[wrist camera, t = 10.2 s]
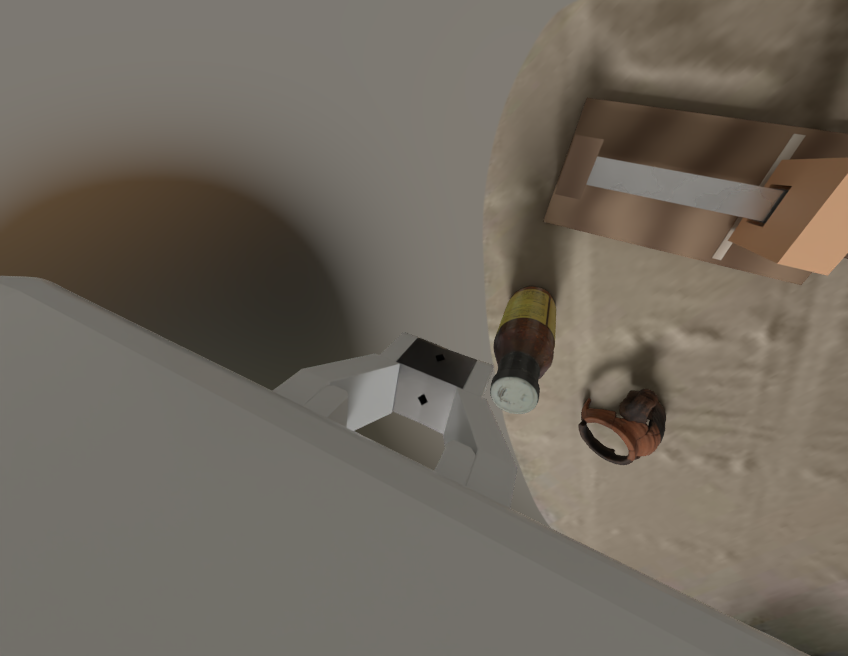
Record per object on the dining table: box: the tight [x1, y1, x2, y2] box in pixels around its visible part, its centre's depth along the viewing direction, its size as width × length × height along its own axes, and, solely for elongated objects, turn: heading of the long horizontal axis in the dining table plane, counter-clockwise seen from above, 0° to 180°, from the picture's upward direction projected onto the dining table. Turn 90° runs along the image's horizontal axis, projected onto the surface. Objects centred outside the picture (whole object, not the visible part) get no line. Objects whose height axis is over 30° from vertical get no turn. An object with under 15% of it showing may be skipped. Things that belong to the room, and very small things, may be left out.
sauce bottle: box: [490, 286, 556, 414], centre depth 35 cm, size 6×6×20 cm
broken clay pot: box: [579, 389, 666, 465], centre depth 42 cm, size 12×10×8 cm
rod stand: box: [543, 98, 848, 285], centre depth 29 cm, size 25×12×6 cm, turn 80°
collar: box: [728, 158, 848, 276], centre depth 25 cm, size 3×7×9 cm, turn 170°
